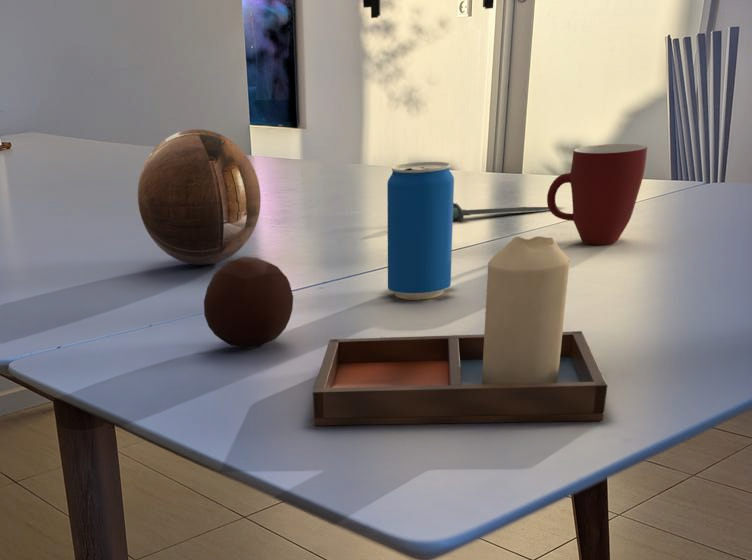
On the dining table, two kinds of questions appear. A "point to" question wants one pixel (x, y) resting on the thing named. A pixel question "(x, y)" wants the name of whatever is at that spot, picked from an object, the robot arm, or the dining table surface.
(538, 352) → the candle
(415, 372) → the sorting tray
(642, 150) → the mug
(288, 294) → the dark brown ball
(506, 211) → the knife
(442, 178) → the beverage can
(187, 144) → the brown shiny sphere
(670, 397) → the dining table surface
